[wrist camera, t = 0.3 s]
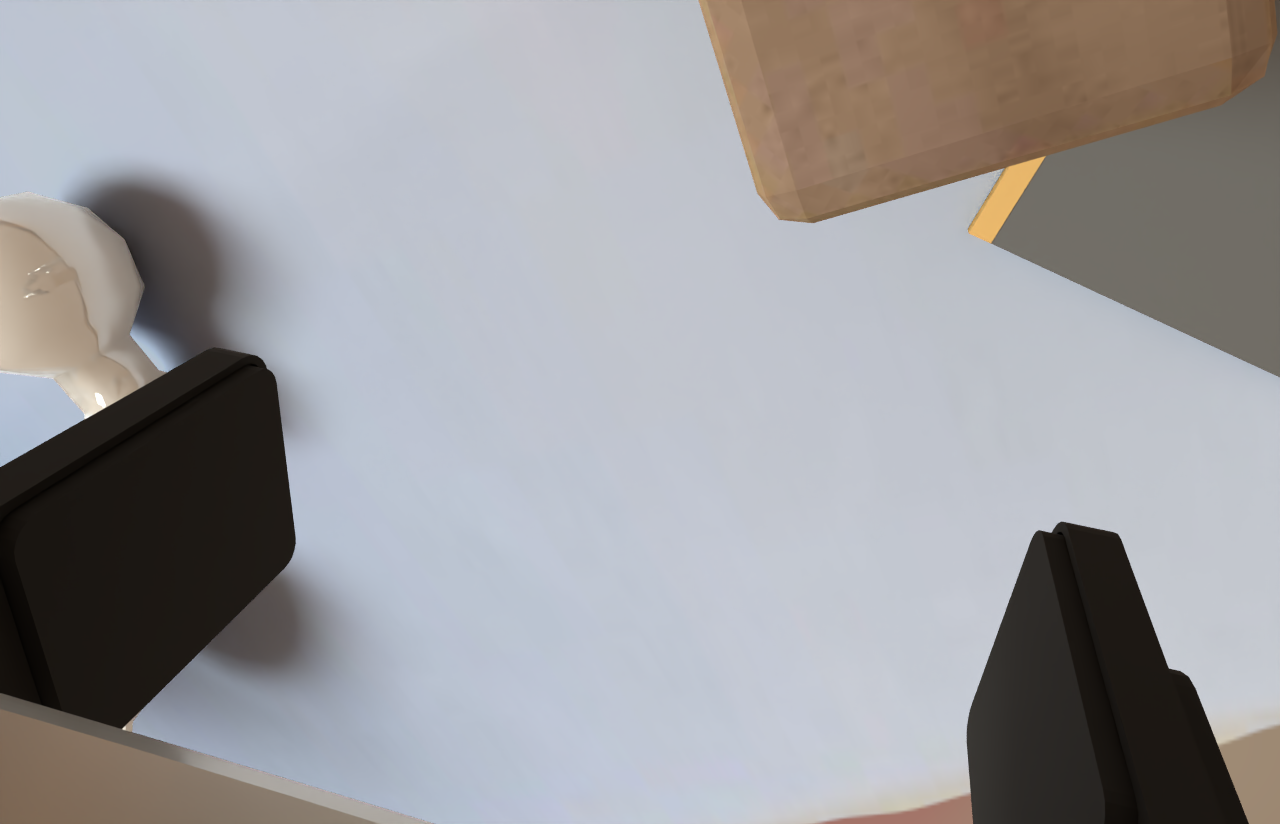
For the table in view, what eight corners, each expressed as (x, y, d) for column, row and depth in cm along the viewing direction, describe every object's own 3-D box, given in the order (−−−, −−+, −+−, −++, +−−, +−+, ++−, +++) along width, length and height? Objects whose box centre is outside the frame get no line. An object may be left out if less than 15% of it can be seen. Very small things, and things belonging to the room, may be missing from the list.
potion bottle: (78, 153, 49) (249, 375, 55) (-91, 245, 48) (105, 462, 54) (33, 155, 41) (241, 415, 47) (-173, 266, 39) (70, 520, 45)
